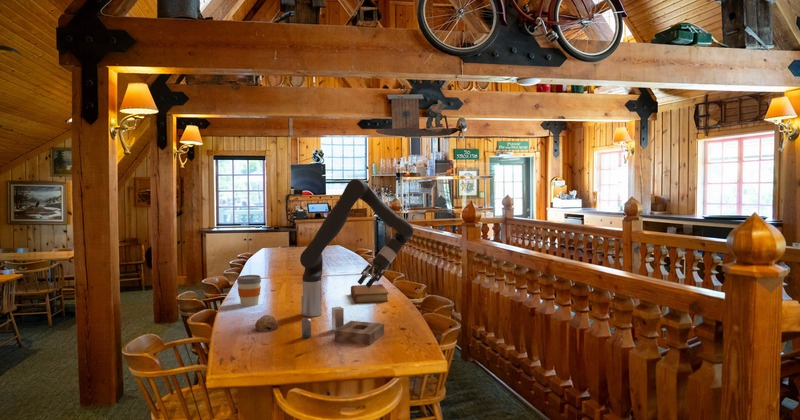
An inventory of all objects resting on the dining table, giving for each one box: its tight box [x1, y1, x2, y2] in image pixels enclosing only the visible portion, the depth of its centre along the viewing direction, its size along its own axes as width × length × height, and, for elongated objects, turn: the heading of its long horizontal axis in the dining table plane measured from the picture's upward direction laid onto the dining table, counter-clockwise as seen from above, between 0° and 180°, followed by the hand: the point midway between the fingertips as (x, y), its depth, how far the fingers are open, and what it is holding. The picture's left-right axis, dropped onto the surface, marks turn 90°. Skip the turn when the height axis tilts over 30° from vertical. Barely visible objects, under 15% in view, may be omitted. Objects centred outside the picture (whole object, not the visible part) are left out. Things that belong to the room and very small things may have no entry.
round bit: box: [301, 317, 312, 340], centre depth 222 cm, size 4×4×8 cm
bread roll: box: [254, 314, 279, 332], centre depth 236 cm, size 10×10×8 cm
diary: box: [350, 283, 390, 304], centre depth 295 cm, size 23×19×6 cm
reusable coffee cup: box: [236, 274, 262, 307], centre depth 281 cm, size 13×13×15 cm
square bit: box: [331, 306, 345, 332], centre depth 233 cm, size 4×4×10 cm
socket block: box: [334, 320, 385, 346], centre depth 222 cm, size 16×16×4 cm
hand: (363, 285), depth 238 cm, fingers open, 8 cm apart
